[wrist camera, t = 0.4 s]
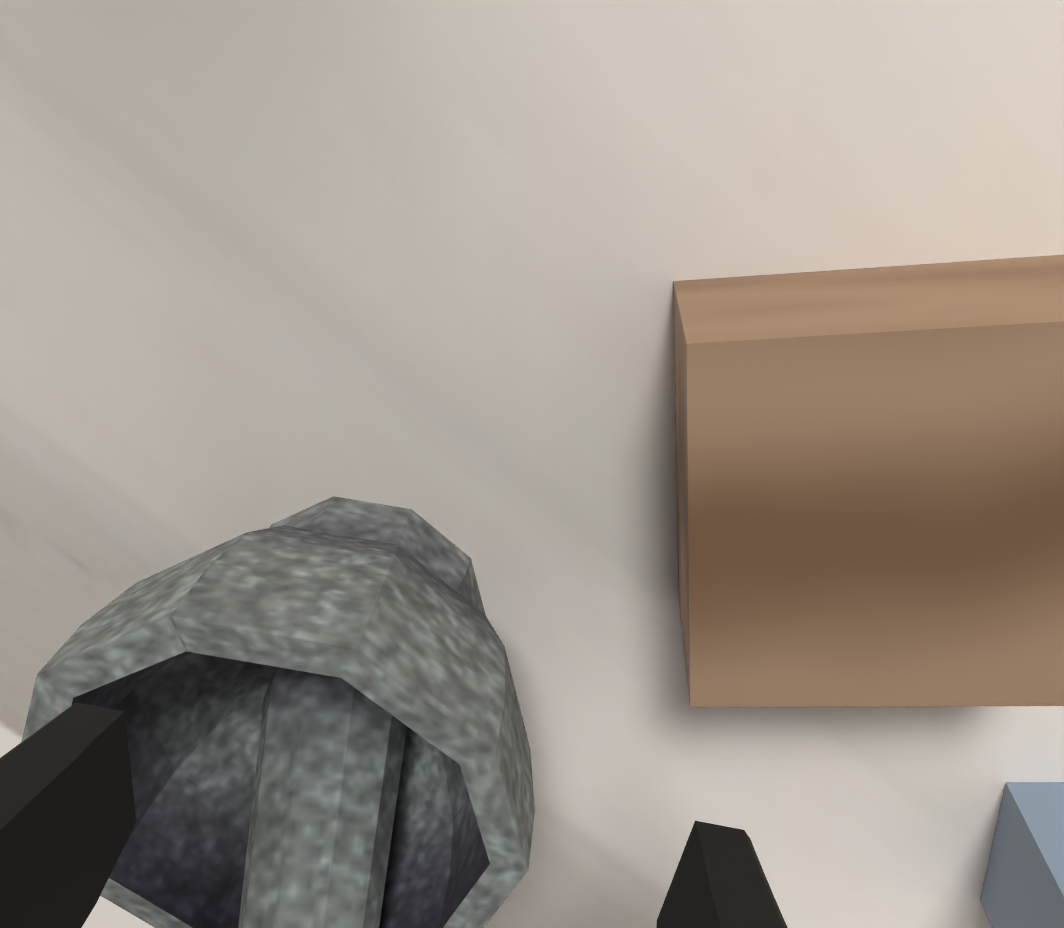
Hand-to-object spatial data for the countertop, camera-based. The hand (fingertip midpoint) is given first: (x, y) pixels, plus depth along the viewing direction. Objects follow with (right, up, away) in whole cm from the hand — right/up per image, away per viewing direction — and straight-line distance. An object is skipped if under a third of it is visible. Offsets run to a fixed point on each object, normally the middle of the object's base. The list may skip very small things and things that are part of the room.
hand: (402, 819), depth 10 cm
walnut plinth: (+9, +5, +8) cm, 13 cm away
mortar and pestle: (-2, 0, +11) cm, 12 cm away
